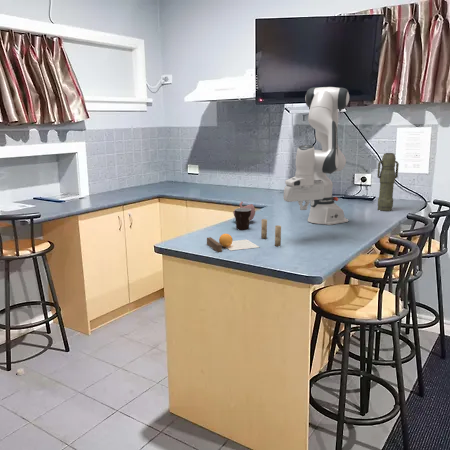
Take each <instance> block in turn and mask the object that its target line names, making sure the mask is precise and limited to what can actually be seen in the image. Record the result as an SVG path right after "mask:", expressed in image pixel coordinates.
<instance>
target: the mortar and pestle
mask: <svg viewBox="0 0 450 450" xmlns="http://www.w3.org/2000/svg"><path fill="white" fill-rule="evenodd" d="M243 204H244V201H240V202H239V208H248V209H251V215H250V222H251V221H252V220H253V219H254V217H255V215H256V207H255V205H254V204H252V203H251V204H247V205H245V206H243ZM232 214H233V216H234V217H235V210H234V211H233V212H232Z"/></svg>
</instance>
